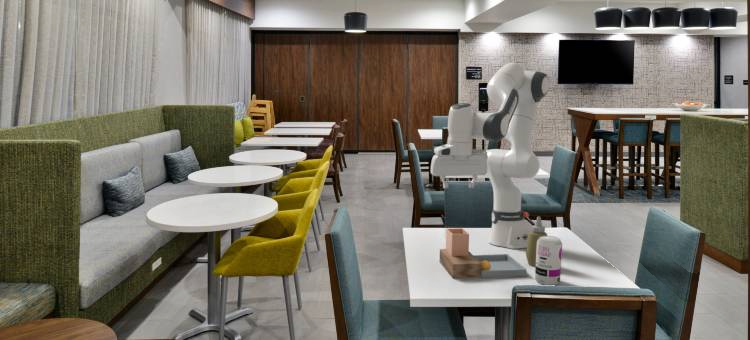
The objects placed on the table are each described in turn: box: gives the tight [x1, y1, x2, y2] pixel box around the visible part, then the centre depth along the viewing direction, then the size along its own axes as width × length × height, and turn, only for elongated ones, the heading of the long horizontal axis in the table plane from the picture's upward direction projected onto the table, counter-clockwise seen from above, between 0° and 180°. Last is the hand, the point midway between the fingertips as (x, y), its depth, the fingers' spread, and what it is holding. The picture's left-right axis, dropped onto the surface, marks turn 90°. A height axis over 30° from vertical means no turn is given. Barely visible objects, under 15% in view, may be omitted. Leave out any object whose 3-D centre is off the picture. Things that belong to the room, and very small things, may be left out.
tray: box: [472, 253, 527, 279], centre depth 206 cm, size 16×18×2 cm
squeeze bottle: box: [525, 216, 548, 267], centre depth 210 cm, size 8×8×18 cm
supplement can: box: [534, 235, 563, 286], centre depth 192 cm, size 8×8×15 cm
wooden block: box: [439, 248, 481, 279], centre depth 205 cm, size 10×18×5 cm, turn 8°
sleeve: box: [445, 227, 470, 256], centre depth 208 cm, size 6×8×8 cm
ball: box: [481, 261, 491, 271], centre depth 201 cm, size 4×4×4 cm
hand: (458, 187), depth 205 cm, fingers open, 8 cm apart
